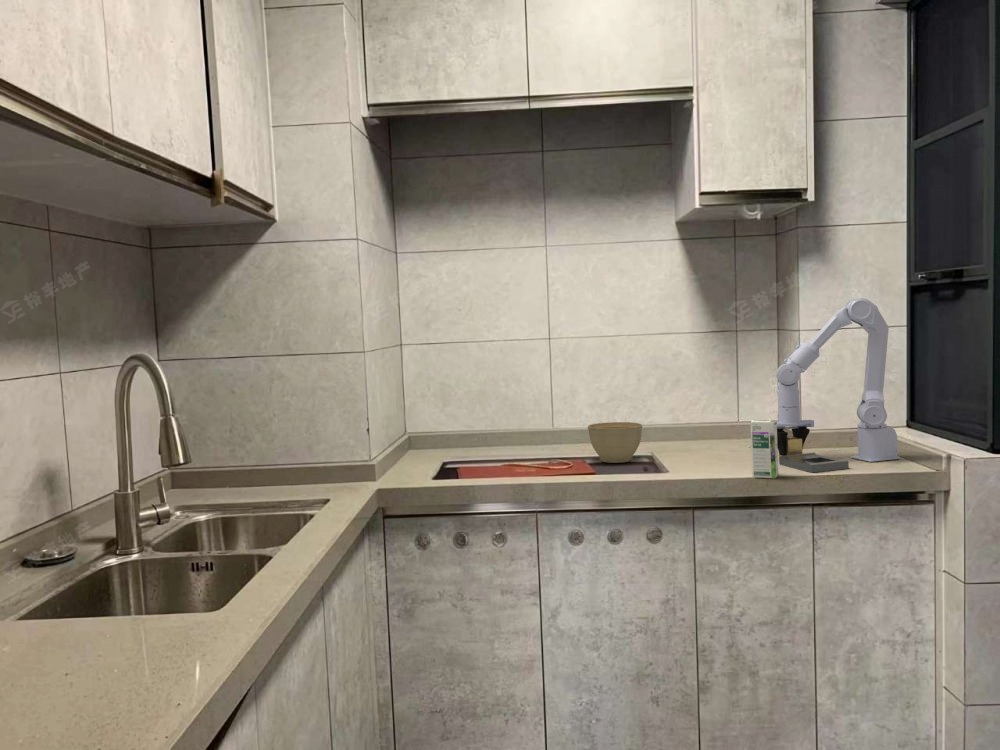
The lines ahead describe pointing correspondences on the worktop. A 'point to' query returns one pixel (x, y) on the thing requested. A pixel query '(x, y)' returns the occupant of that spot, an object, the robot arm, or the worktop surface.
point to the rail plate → (813, 462)
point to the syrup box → (764, 448)
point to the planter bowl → (615, 440)
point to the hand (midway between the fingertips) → (790, 454)
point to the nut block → (793, 446)
